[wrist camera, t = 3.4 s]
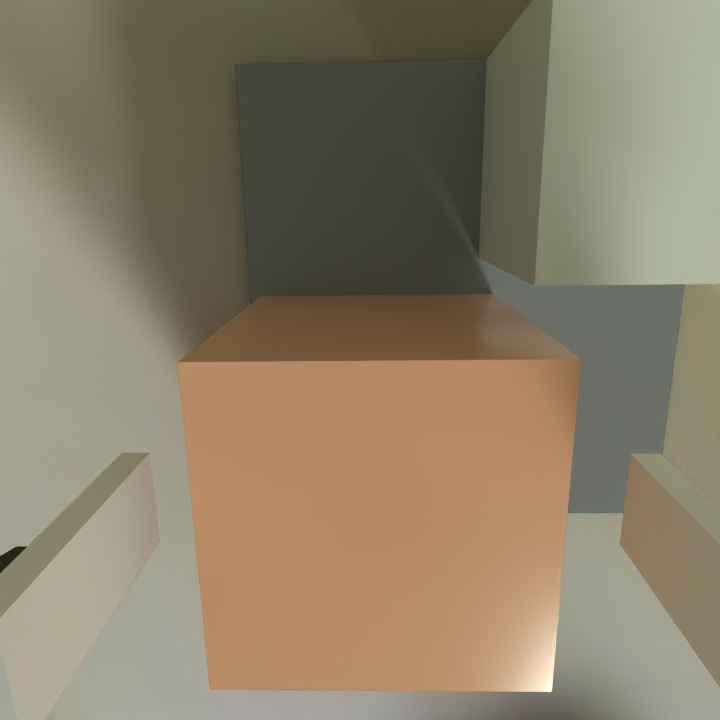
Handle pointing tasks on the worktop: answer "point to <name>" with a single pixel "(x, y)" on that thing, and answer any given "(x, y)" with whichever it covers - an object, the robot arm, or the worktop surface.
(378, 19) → the worktop surface
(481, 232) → the pale sage cube
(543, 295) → the slate mat
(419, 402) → the terracotta cover
